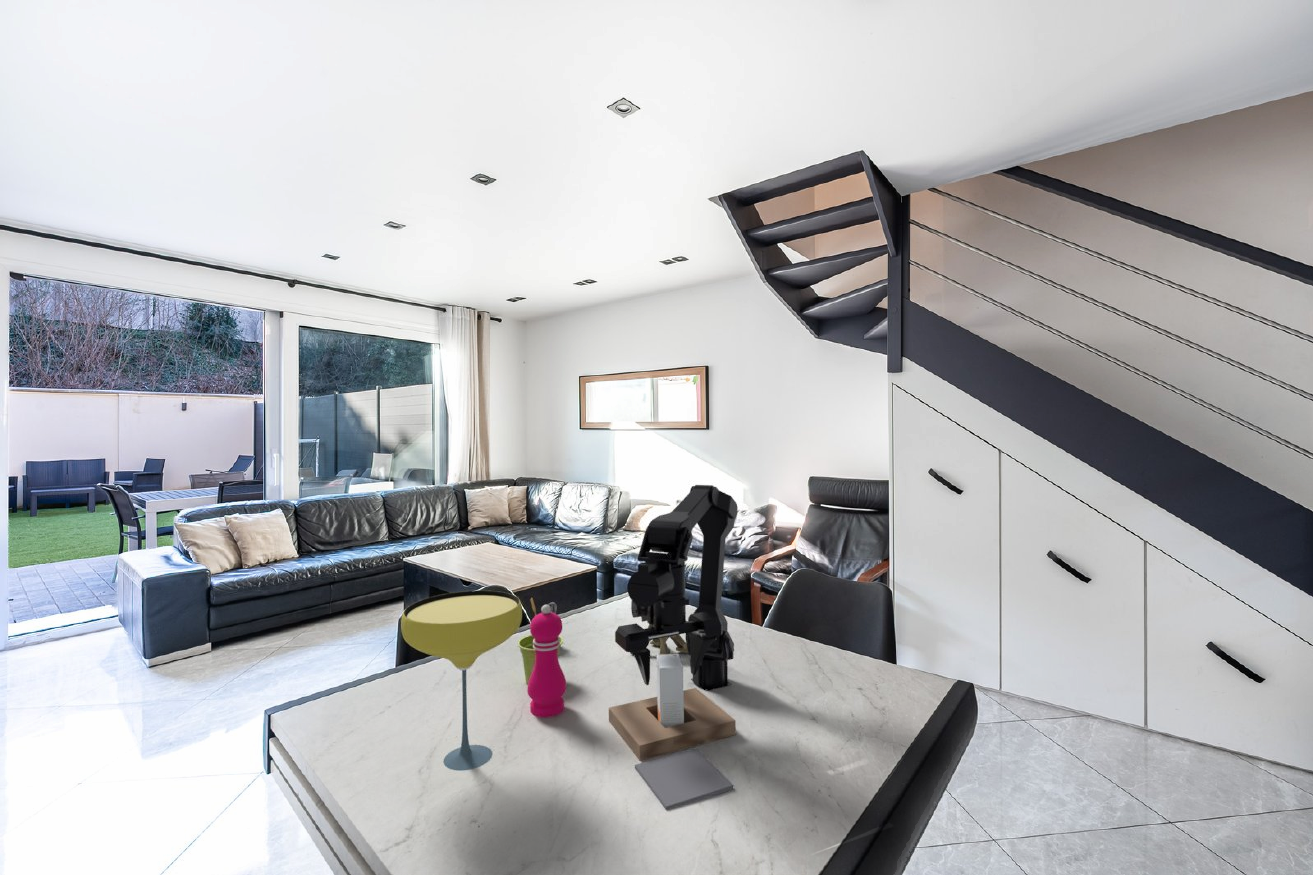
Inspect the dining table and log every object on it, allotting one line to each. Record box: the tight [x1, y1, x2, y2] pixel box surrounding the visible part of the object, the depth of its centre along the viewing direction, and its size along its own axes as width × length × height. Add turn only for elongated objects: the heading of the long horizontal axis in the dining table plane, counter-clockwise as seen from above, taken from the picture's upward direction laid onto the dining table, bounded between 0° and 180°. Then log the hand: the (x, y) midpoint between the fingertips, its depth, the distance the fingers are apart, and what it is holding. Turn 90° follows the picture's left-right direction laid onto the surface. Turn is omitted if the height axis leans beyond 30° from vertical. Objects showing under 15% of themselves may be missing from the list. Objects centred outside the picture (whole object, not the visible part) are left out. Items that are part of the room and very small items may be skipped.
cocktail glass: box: [400, 590, 523, 772], centre depth 90 cm, size 18×18×25 cm
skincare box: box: [656, 653, 684, 728], centre depth 100 cm, size 6×4×12 cm
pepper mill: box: [527, 604, 567, 718], centre depth 107 cm, size 7×7×20 cm
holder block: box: [608, 687, 737, 762], centre depth 100 cm, size 18×14×2 cm
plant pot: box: [517, 634, 564, 685], centre depth 119 cm, size 9×9×9 cm
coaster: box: [634, 747, 735, 811], centre depth 85 cm, size 11×11×1 cm
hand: (670, 679), depth 100 cm, fingers open, 9 cm apart
